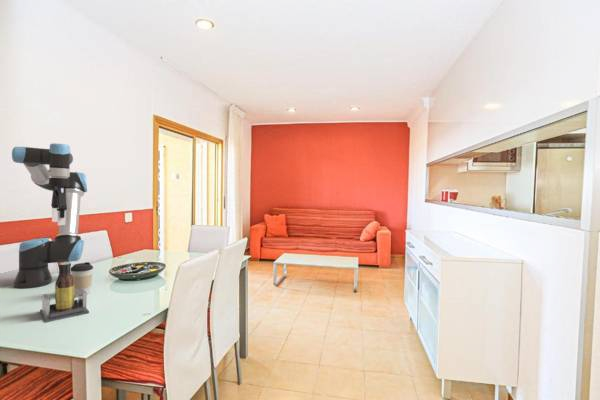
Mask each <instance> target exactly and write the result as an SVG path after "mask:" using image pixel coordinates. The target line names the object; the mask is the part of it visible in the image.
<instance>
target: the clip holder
mask: <svg viewBox="0 0 600 400" xmlns="http://www.w3.org/2000/svg"><path fill="white" fill-rule="evenodd" d="M87 297H88V295H87V293H86V292H85V291H84V290H83V289H82V288H80V289H79V293H78V297H77V298H78V299H74V309H70V310H65V311H61V312H57V311H56V303H51V297H49V295H48V294H47V293H44V294H42V304H41V306H42V307H41V309H40V310H39V311H40V314H41V316H42V318H43V320H44V323H49V322H53V321H54V322H55V321H60V320H63V319H67V318H73V317H78V316H81V315H86V314H89V313H90V311H89V309H88V308H87Z"/></svg>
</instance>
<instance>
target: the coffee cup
mask: <svg viewBox="0 0 600 400" xmlns="http://www.w3.org/2000/svg"><path fill="white" fill-rule="evenodd" d="M93 270H94V265H92V264H91V263H90V262H81V263H75V264H73V265H72V266H71V267H70V272H71V273H70V274H71V275H72V276H73V278H74V298H78V293H79V289H80V288H82V289H83V290H84V291H85V292H86V293H87V296H90V294H91V287H92V280H93Z"/></svg>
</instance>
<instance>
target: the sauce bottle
mask: <svg viewBox="0 0 600 400" xmlns="http://www.w3.org/2000/svg"><path fill="white" fill-rule="evenodd" d="M71 267H72V262H59V264H58V270H59V271H58V276H57V278H56V280H55V283H54V284H55V286H54V287H55V295H54V297H55V302H54V303H55V304H56V311H57V312H61V311H65V310H70V309H74V300H75V297H74V278H73V276H72V275H71Z"/></svg>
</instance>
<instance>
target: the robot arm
mask: <svg viewBox="0 0 600 400" xmlns="http://www.w3.org/2000/svg"><path fill="white" fill-rule="evenodd" d="M11 159H12V161H13V162H14V163H17V164H23V165H24V167H25V169H26V170H27V171H28V173H29V174H30V178H31V179H30V180H31V181H32V182H33V183H34V184H35V185H37V187H40V188H41V189H44V190H48V191H52V198H51V208H52V209H51V223H57V226H58V227H59V228H58V229H59V230H58V234H57V235H56V236H55V237H54V240H50V239H49V238H47V237H41V238H34V239H29V240H25V241H22V242H20V244H19V248H18V271H17V274H16V277H15V279H14V281H13V287H14V288H16V289H32V288H38V287H45V286H47V285H50V284H51V283H52V282H53V277H52V274H51V271H50V269H49V264H53V263H55V264H57V263H64V262H70V263H73V262H78V261H79V260H81V257H82V255H83V251H84V245H85V244H84V242H85V241H84V240H83V239H82V237H81V235H79V226H80V225H79V224H80V222H79V221H80V211H81V210H80V209H81V198H82V197H84V195H85V193H87V192H88V187H87V184H88V183H87V177H86V173H84V172H78V171H75V172H74V171H71V169H70V166H71V164H72V163H73V161H74V157H73V155H72V152H71V146H70V145H69V144H64V143H50V144H49V148H41V147H40V148H39V147H30V146H29V147H28V146H27V147H26V146H14V147H13V148H12V151H11ZM47 166H48V167H49V169H48V167H47Z"/></svg>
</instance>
